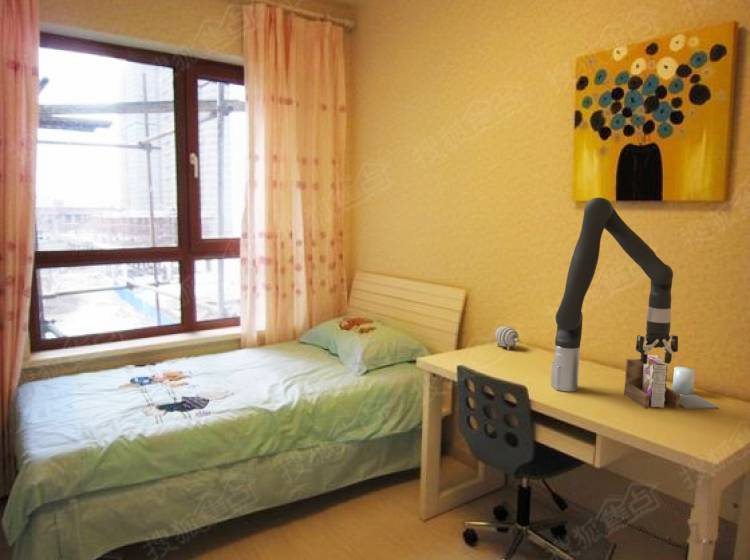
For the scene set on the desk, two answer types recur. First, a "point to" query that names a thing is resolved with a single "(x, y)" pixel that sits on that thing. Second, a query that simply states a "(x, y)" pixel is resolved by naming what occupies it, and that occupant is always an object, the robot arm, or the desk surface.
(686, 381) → the white rounded cylinder
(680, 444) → the desk surface
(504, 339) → the toy sheep
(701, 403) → the rubber pad
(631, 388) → the walnut bay
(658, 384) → the candy bar box
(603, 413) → the desk surface
